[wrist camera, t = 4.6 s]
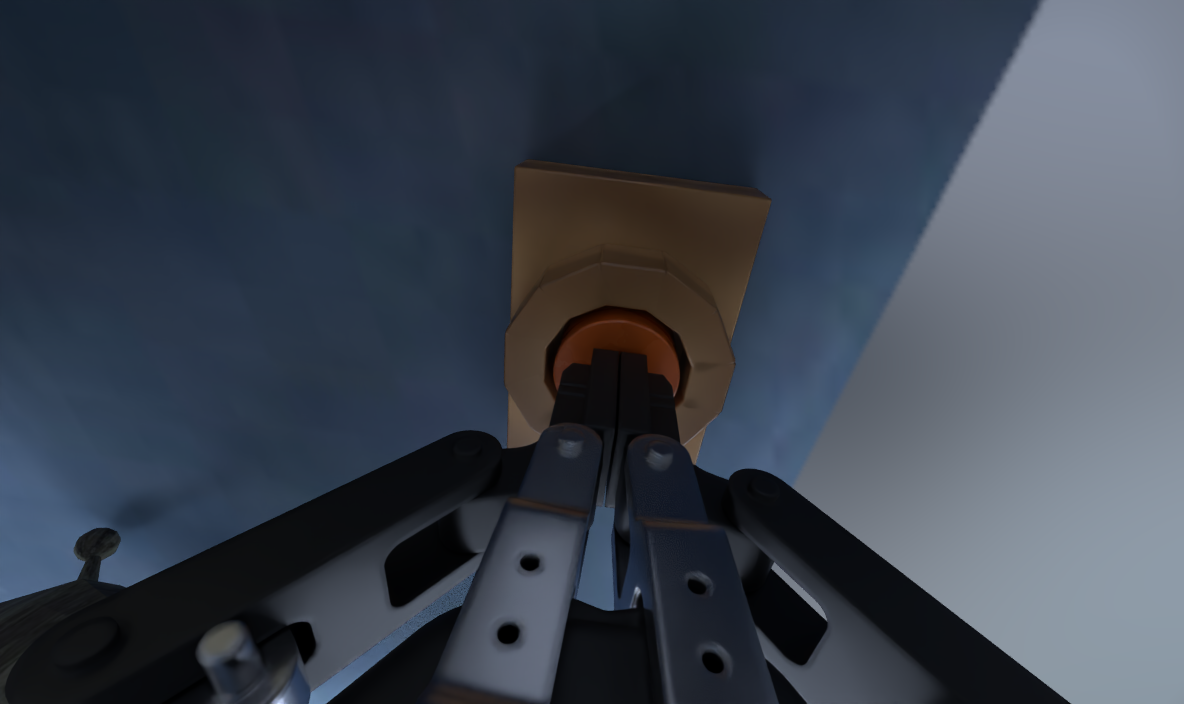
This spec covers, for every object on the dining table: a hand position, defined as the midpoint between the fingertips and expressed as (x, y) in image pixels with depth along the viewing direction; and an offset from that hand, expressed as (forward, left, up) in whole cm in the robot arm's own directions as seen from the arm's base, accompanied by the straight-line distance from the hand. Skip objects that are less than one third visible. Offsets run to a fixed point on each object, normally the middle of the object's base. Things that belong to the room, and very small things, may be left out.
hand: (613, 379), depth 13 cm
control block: (0, 0, -4) cm, 4 cm away
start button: (0, 0, -2) cm, 2 cm away
